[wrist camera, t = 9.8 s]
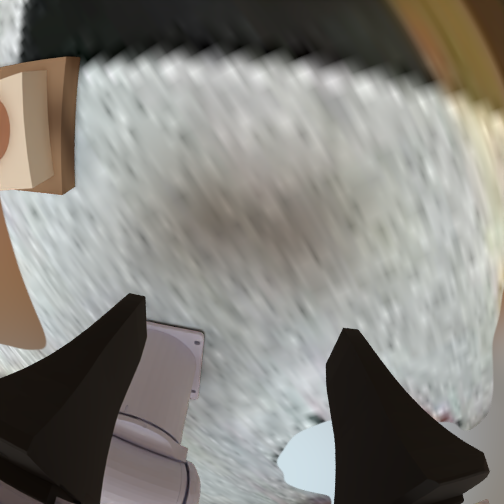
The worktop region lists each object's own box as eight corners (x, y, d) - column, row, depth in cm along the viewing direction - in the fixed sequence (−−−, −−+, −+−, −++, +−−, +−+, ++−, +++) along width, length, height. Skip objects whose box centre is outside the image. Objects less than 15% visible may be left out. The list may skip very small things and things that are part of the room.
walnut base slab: (80, 183, 20) (62, 194, 18) (-2, 176, 20) (-21, 186, 18) (86, 57, 16) (66, 56, 14) (-2, 70, 15) (-23, 73, 13)
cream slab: (54, 175, 17) (32, 188, 15) (-11, 181, 17) (-32, 193, 15) (46, 70, 14) (22, 72, 12) (-21, 92, 14) (-44, 98, 12)
